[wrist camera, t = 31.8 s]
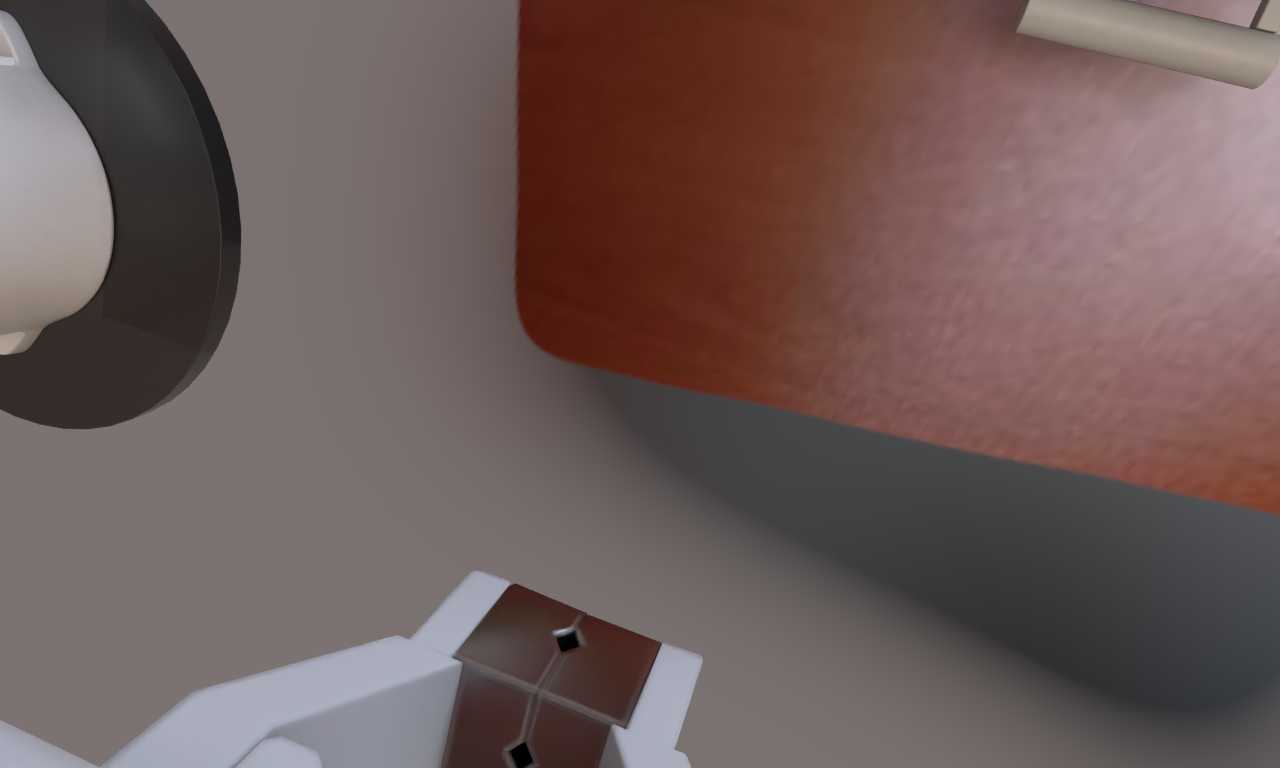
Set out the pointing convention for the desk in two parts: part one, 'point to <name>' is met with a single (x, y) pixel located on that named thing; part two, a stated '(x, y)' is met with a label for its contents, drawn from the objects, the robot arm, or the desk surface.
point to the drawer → (1161, 36)
